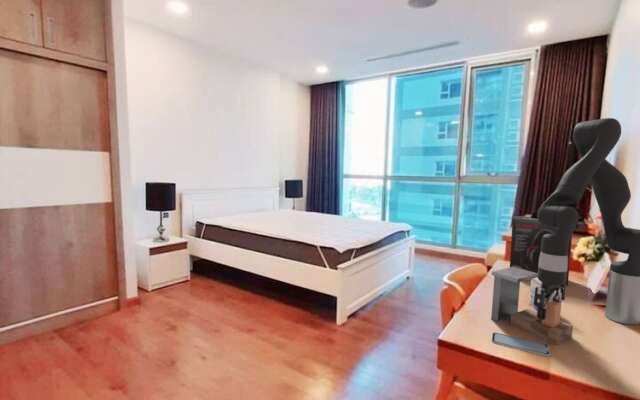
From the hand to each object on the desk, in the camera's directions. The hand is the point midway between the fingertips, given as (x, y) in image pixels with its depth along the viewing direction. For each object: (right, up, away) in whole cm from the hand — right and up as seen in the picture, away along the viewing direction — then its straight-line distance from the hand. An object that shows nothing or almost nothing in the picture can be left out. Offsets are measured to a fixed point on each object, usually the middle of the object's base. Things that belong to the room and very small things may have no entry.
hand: (548, 316), depth 107 cm
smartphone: (-13, -7, -6) cm, 16 cm away
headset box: (+35, -1, +58) cm, 68 cm away
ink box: (+11, -5, +21) cm, 24 cm away
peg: (0, -6, 0) cm, 6 cm away
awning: (-6, -5, +11) cm, 13 cm away
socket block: (-1, -6, +2) cm, 6 cm away
